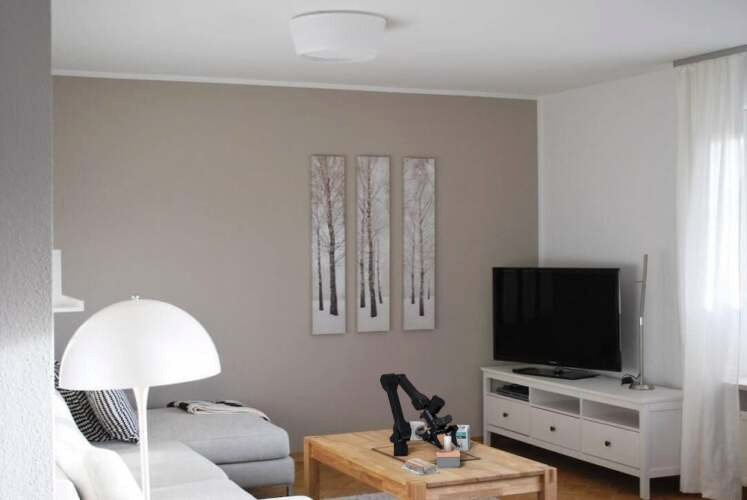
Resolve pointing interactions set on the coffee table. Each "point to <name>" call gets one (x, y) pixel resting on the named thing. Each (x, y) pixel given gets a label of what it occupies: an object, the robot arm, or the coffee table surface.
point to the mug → (417, 430)
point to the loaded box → (448, 462)
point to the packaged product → (420, 467)
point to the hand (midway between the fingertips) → (449, 447)
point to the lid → (448, 449)
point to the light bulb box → (463, 437)
